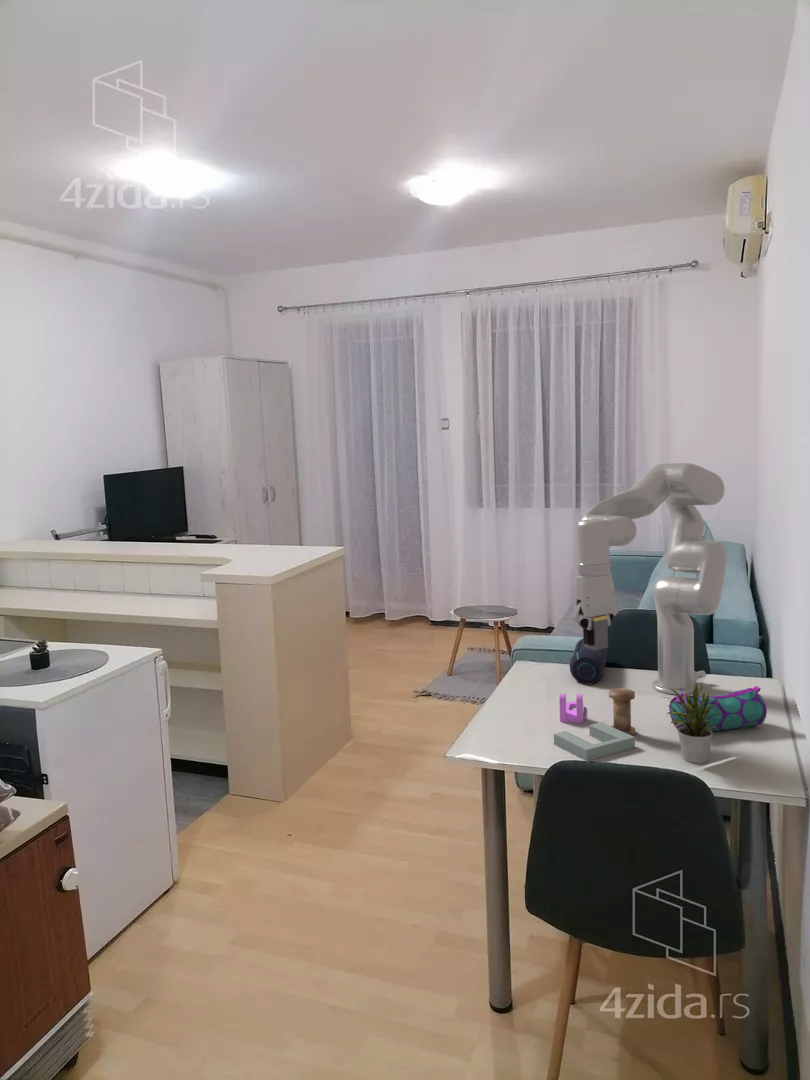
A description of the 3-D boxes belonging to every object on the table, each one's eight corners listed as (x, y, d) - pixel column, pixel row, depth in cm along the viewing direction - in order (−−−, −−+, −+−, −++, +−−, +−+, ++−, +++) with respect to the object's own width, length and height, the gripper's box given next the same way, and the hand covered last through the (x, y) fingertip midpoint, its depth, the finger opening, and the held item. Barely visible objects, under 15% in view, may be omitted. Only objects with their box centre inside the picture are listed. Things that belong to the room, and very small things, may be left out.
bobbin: (623, 726, 187) (622, 687, 186) (640, 734, 182) (640, 693, 181) (604, 731, 185) (603, 691, 184) (621, 739, 179) (620, 697, 178)
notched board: (600, 732, 184) (600, 722, 184) (634, 747, 174) (634, 736, 174) (554, 744, 178) (553, 733, 178) (586, 760, 168) (586, 749, 168)
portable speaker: (575, 663, 245) (575, 633, 243) (608, 664, 242) (607, 633, 240) (568, 687, 221) (567, 653, 220) (604, 688, 218) (603, 654, 217)
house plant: (658, 742, 176) (657, 673, 175) (722, 746, 172) (722, 676, 171) (659, 767, 163) (659, 692, 161) (729, 772, 159) (729, 695, 157)
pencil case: (687, 739, 178) (687, 699, 177) (668, 726, 186) (668, 688, 185) (768, 730, 181) (769, 691, 180) (746, 718, 189) (746, 680, 188)
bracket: (582, 723, 191) (582, 696, 190) (560, 722, 192) (559, 696, 192) (584, 706, 203) (583, 681, 203) (563, 706, 205) (562, 680, 204)
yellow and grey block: (597, 644, 191) (596, 612, 190) (608, 647, 188) (607, 615, 187) (584, 646, 189) (583, 615, 188) (595, 650, 186) (594, 618, 185)
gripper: (609, 564, 193) (611, 634, 195) (556, 572, 186) (559, 645, 188) (630, 567, 187) (632, 640, 189) (577, 576, 179) (579, 652, 181)
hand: (596, 642), depth 188 cm, fingers closed on yellow and grey block, 4 cm apart
